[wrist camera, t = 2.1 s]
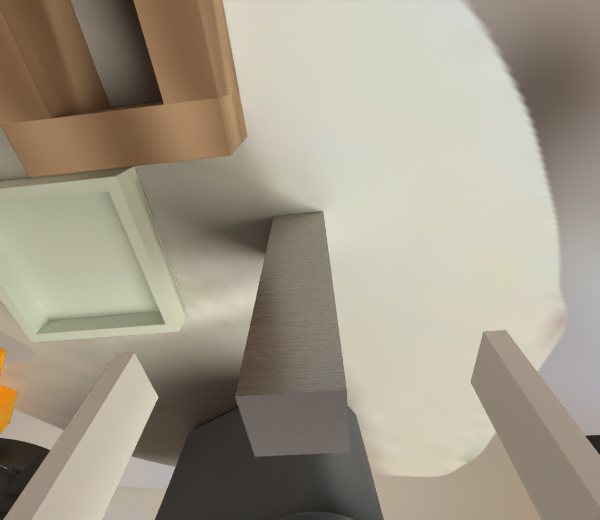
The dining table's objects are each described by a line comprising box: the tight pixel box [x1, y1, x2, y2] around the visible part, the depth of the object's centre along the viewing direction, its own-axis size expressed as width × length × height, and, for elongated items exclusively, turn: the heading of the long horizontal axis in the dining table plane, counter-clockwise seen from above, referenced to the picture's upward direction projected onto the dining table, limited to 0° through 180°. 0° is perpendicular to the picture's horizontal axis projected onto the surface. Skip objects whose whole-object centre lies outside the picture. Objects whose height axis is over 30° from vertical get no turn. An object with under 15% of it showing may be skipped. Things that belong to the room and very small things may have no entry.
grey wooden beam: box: [235, 212, 350, 457], centre depth 16 cm, size 3×3×14 cm
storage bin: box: [155, 406, 384, 520], centre depth 28 cm, size 21×16×14 cm
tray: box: [0, 166, 188, 342], centre depth 23 cm, size 12×12×2 cm
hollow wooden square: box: [0, 0, 247, 178], centre depth 15 cm, size 10×10×5 cm
